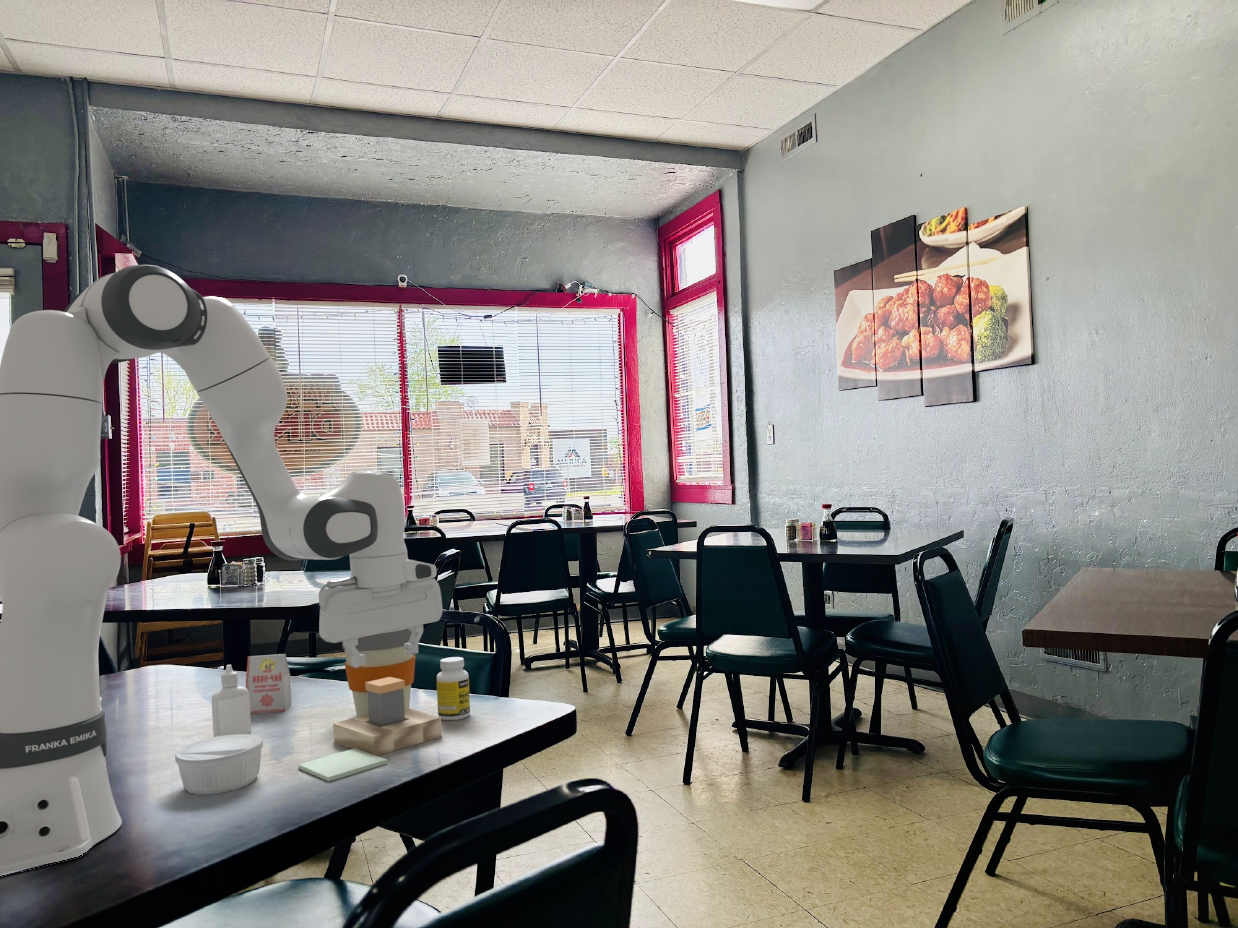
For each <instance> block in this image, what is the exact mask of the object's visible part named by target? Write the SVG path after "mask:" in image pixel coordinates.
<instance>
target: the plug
mask: <svg viewBox="0 0 1238 928" xmlns="http://www.w3.org/2000/svg"><path fill="white" fill-rule="evenodd" d="M365 687H366V690H367V691H368V710H369V724H372V725H376V726H379V727H384V726H387V725H391V724H394V723H398V722H402V721H405V710H404V691H403V688H405V680H401V679H397V678H393V677H387V678H382V679H378V680H374V681H369V682H365Z"/></svg>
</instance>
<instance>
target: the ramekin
mask: <svg viewBox="0 0 1238 928" xmlns="http://www.w3.org/2000/svg"><path fill="white" fill-rule="evenodd" d="M263 747H264V740H263V738H262V737H261V736H259V735H256V734H252V733H251V734H237V735H225V736H217V737H209V738H208V737H207V738H204V739H201V740H198V741H196V742H192V743H189V744H187V745H185V746H183V747H181V748H180V749H179V750H177V751H176V753H175V756H174V757H175V763H176V764H177V767H178V770H179V771H178V772H179V774H180V775H179V776H180V779H181V783H182V785H183V787H184V789H185V790H186V791H187V792H188V793H189V794H190V793H191V794H193V793H195V794H194V795H201V794H205V795H215V794H214V793H217V794H222V792H223V793H227V792H230V791H231V790H232V791H235V790H238V789H241V788H244V787H245V786H247V785H250V784H251V783H252V782H254V781H255V780H256V778H257V776H258V775H259V774H260V768H261V767H260V766H261V760H262V759H261V758H262V757H261V756H262V749H263ZM232 791H231V792H232Z"/></svg>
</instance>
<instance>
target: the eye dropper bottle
mask: <svg viewBox="0 0 1238 928" xmlns="http://www.w3.org/2000/svg"><path fill="white" fill-rule="evenodd" d="M220 675H221V676H220V677H221V678H220V679H221V687H222V688H220V689H218V690H217V691H216V692H214V693H213V694H212V696H211V714H212V715H211V717H212V735H213V737H217V736H225V735H237V734H251V735H252V724H251V723H252V721H251V714H250V701H249V691H248V689H247V688H246V686H245V687H244V686H240V685H239V682H238V681H239V679H238V678H239V677H238V672H237V671H234V670H233V667H232V664H227V665H226V668H225V671H224V673H221V674H220ZM213 737H212V738H213Z"/></svg>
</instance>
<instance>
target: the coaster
mask: <svg viewBox="0 0 1238 928" xmlns="http://www.w3.org/2000/svg"><path fill="white" fill-rule="evenodd" d="M387 763H388V762H387V759H386V758H383V757H381V756H379V755H378V756H375V755H373V754H370V753H367V752H364V751H362V750H359V749H356V748H354V749H351V748H349V749H348V750H344V751H340V752H336V753H334V754H331V755H326V756H322V757H320V758H317V759H313V760H310V761H306V762H303V763H298V764H297V765H298V766H297V767H298V769H299V770H300V769H301V771H302V772H306V773H307V772H308V774H310V775H312V776H314V775H315V776H314V777H317V778H319V779H321V780H324V781H326V782H331V781H335V780H339V779H342V778H344V777H347V776H351V775H354V774H358V773H361V772H364V771H367V770H370V769H373V768H377V767H380V766H385V765H387Z"/></svg>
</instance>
